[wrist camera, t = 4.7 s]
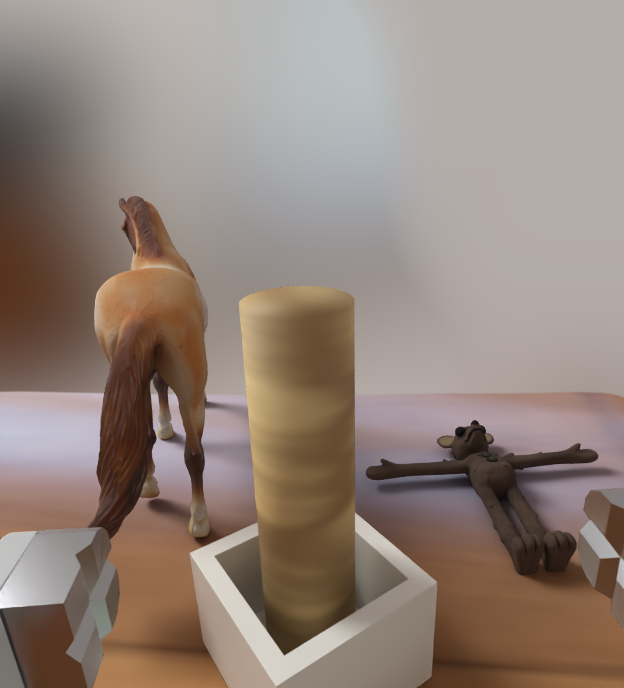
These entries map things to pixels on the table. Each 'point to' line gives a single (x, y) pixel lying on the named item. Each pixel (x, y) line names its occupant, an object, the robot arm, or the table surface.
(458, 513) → the table surface
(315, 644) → the white square box
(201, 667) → the table surface
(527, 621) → the table surface
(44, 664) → the robot arm
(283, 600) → the dowel
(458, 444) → the bear figurine
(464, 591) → the table surface
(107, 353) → the horse figurine
